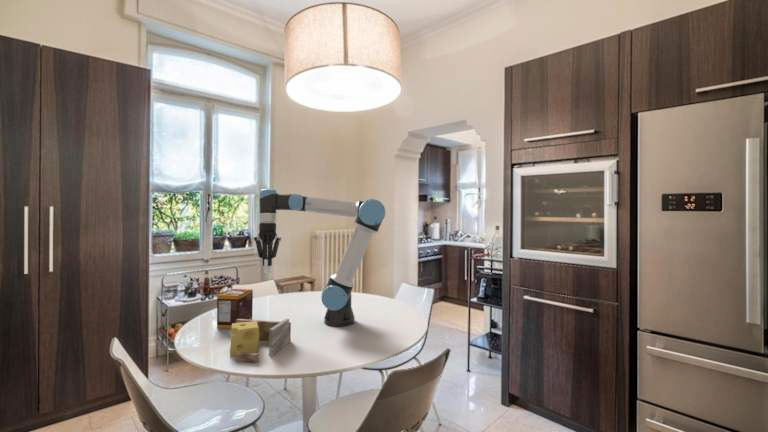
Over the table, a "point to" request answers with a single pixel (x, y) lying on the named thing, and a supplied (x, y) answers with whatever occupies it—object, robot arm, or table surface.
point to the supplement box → (234, 307)
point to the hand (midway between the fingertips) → (267, 272)
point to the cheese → (244, 337)
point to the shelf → (268, 338)
